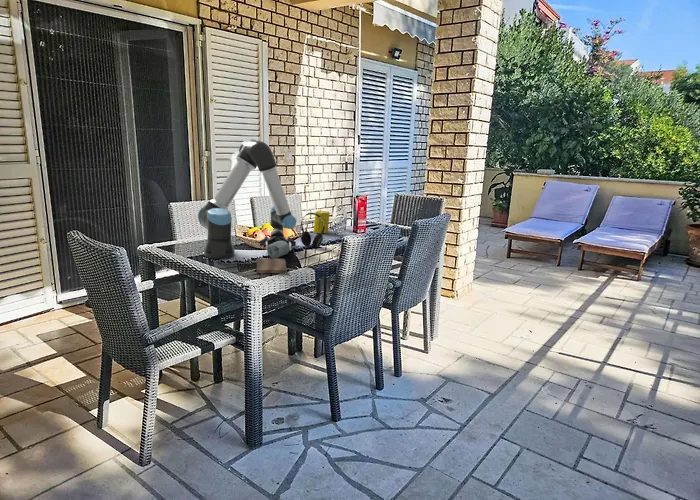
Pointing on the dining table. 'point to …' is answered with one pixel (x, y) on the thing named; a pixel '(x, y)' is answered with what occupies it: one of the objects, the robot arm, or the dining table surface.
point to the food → (319, 223)
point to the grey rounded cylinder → (278, 249)
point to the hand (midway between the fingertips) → (278, 247)
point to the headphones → (307, 238)
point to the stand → (271, 265)
